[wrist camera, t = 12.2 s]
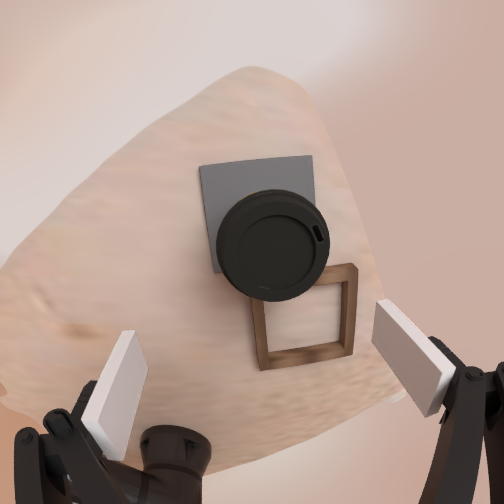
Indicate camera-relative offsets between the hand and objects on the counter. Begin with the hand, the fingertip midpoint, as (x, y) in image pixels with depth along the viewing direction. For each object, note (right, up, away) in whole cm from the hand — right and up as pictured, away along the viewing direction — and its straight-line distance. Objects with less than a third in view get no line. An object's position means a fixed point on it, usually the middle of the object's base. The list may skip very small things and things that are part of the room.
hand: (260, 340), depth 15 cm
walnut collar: (+7, -5, +29) cm, 30 cm away
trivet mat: (+1, +10, +24) cm, 26 cm away
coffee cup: (0, +9, +23) cm, 25 cm away
